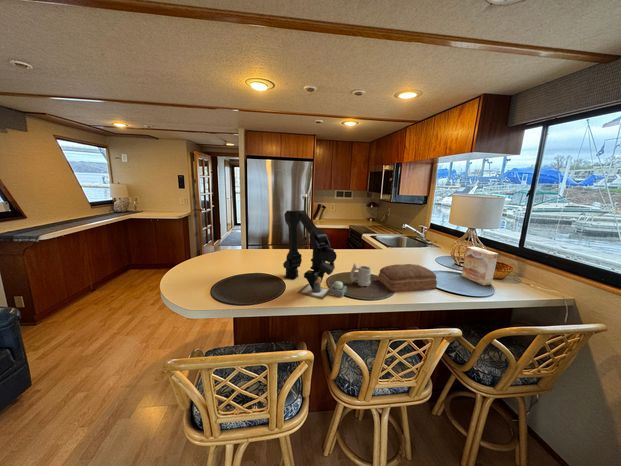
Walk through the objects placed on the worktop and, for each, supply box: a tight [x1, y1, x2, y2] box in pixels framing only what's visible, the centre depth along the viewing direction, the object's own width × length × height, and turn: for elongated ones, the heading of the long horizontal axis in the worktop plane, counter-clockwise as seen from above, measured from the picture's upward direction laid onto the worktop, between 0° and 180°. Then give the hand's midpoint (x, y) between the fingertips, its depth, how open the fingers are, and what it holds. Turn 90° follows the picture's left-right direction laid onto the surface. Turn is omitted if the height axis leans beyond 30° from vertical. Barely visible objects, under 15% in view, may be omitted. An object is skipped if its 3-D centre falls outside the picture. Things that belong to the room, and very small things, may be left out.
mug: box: [349, 263, 372, 287], centre depth 137 cm, size 8×12×12 cm, turn 87°
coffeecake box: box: [460, 246, 499, 286], centre depth 148 cm, size 15×7×20 cm, turn 18°
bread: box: [377, 263, 438, 292], centre depth 139 cm, size 17×29×11 cm, turn 102°
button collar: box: [328, 283, 348, 298], centre depth 126 cm, size 7×7×3 cm
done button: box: [333, 280, 344, 290], centre depth 125 cm, size 4×4×4 cm
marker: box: [313, 277, 322, 292], centre depth 125 cm, size 4×4×7 cm
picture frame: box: [297, 283, 329, 300], centre depth 126 cm, size 14×11×1 cm
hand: (316, 285), depth 125 cm, fingers open, 9 cm apart
